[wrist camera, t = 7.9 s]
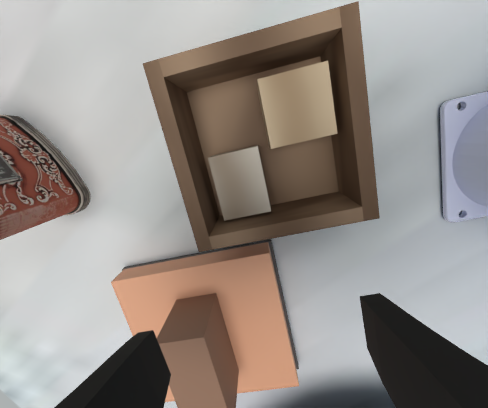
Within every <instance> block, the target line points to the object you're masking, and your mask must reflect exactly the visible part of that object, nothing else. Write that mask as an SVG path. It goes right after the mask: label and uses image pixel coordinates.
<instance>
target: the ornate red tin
mask: <svg viewBox="0 0 488 408" xmlns="http://www.w3.org/2000/svg"><path fill="white" fill-rule="evenodd" d="M89 201H90V192H89V190H88V188H87V187H86V185H85V184H84V182H83V181H82V179H81V178H80V176H79V175H78V173H77V172H76V170H75V169H74V168H73V166H72V165H71V164H70V163H69V161H68V160H67V159H66V158H65V157H64V155H63V154H62V153H61V152H60V151H59V150H58V149H57V148H56V147H55V146H54V145H53V144H52V143H51V142H50V141H49V140H48V139H47V138H46V137H45V136H44V135H43V134H42V133H40V132H39V131H38V130H36V129H35V128H34V127H33V126H31V125H30V124H29V123H28V122H26V121H25V120H24V119H22V118H20V117H17V116H9V115H0V240H1V239H4V238H6V237H9V236H11V235H14V234H16V233H19V232H22V231H24V230H27V229H29V228H32V227H34V226H37V225H39V224H42V223H45V222H47V221H50V220H52V219H55V218H57V217H60V216H62V215H71V214H74V213H77V212H79V211H81V210H83V209H85V208H86V207H87V205H88V204H89Z"/></svg>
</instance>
